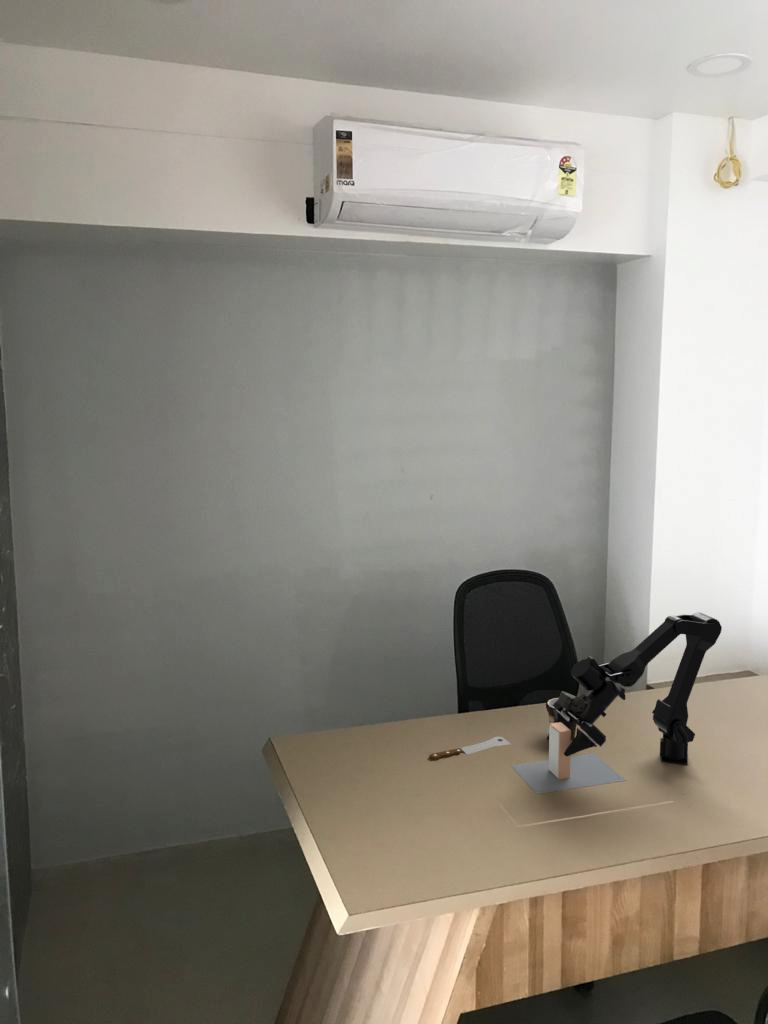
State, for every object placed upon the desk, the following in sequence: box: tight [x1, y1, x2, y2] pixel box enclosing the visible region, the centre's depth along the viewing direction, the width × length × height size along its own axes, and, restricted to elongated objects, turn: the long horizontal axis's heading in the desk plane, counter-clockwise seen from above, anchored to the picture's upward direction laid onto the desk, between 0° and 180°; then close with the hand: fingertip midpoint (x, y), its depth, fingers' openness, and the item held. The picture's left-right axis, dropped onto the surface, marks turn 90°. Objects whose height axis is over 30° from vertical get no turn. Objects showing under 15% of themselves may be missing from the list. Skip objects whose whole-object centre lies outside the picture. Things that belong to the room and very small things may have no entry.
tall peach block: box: [548, 722, 572, 779], centre depth 219 cm, size 3×6×12 cm, turn 15°
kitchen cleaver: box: [428, 736, 512, 761], centre depth 233 cm, size 24×1×10 cm
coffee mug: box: [545, 697, 578, 742], centre depth 243 cm, size 12×9×10 cm
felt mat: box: [510, 753, 627, 795], centre depth 220 cm, size 24×16×1 cm, turn 105°
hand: (556, 747), depth 218 cm, fingers open, 9 cm apart
